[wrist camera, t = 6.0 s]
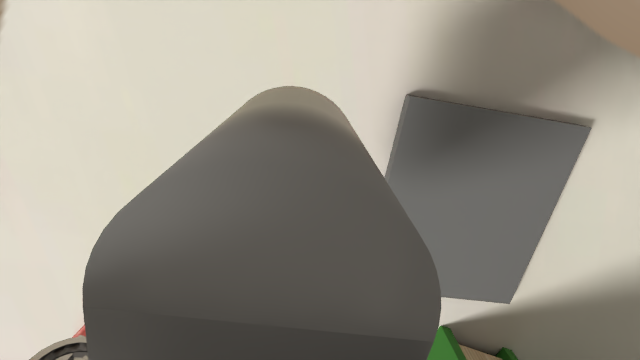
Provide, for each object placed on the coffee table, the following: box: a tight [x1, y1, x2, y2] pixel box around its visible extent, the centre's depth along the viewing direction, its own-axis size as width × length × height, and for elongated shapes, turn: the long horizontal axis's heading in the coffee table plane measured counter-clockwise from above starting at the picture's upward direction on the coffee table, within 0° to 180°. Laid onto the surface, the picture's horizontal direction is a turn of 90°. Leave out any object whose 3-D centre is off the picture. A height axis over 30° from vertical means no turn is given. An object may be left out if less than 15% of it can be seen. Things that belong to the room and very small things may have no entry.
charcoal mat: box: [385, 95, 591, 304], centre depth 23 cm, size 12×14×1 cm
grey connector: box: [83, 86, 441, 360], centre depth 7 cm, size 4×10×9 cm, turn 170°
